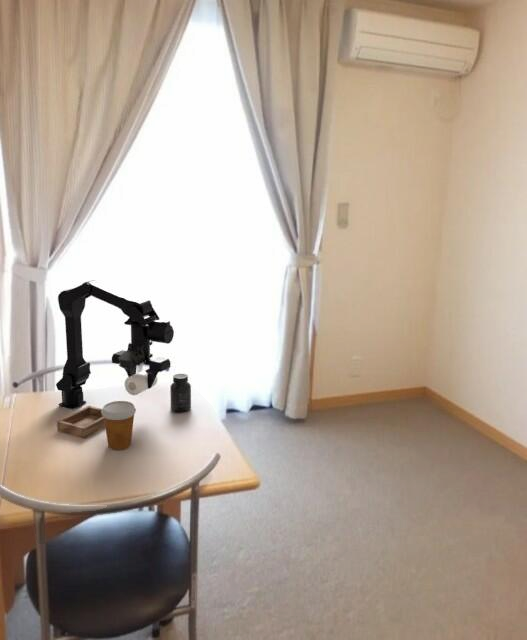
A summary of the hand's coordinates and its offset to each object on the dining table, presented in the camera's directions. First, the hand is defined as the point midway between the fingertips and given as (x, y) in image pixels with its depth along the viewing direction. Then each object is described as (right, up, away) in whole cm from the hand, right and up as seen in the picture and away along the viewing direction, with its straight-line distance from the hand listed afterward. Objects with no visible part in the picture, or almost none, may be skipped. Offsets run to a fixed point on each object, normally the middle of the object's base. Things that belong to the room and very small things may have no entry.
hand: (141, 386), depth 177 cm
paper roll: (0, +2, 0) cm, 2 cm away
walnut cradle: (-16, -12, -5) cm, 20 cm away
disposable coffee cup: (-3, -15, -16) cm, 22 cm away
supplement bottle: (+11, -9, +11) cm, 18 cm away
